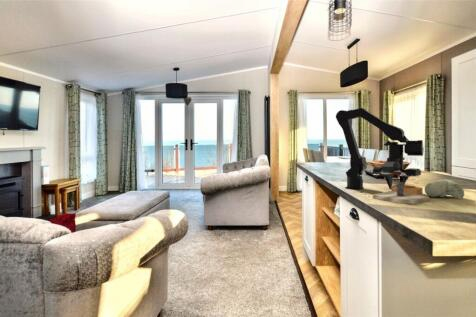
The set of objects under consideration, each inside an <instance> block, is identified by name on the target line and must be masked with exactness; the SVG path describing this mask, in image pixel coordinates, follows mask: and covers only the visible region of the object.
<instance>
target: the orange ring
mask: <svg viewBox="0 0 476 317" xmlns="http://www.w3.org/2000/svg"><path fill="white" fill-rule="evenodd" d="M423 189H424V188H423V186H419V185H412V184H405V187H404V193H408V194H415V195H422V196H423V192H424V191H423ZM390 191H393V192H397V187H396V184H392V186H391V189H390Z"/></svg>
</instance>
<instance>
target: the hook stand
mask: <svg viewBox="0 0 476 317" xmlns="http://www.w3.org/2000/svg"><path fill="white" fill-rule="evenodd" d="M395 185H396V187H397V192H393V191H391V190H389V191H385V192H379V193H375V194H373V195H372V197H373V198H372V199H375V200H380V201H386V202H392V203H393V202H394V203H399V204H405V205H410V204H411V206H415V205H417V204H421V203H423V202H427V201H429V197H430V196H428V195H423V194H422V195H415V194H408V193H404V187H405V185H406V184H404V183H403V182H400V181H398V182H397V183H396V184H395Z"/></svg>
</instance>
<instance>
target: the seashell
mask: <svg viewBox="0 0 476 317" xmlns="http://www.w3.org/2000/svg"><path fill="white" fill-rule="evenodd" d="M424 192H425V194H426V196H429V197H431V198H435V197H441V198H444V197H446V196H450V197H452V198H455V199H457V200H462V199H464V197H465V190H464V188H463V187H462V185H461V184H459V183H458V182H457V181H454V180H452V179H438V180H437V179H436V180H433V181H430V182H428V183H427V184H426V185H425V187H424Z"/></svg>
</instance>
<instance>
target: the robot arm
mask: <svg viewBox="0 0 476 317" xmlns="http://www.w3.org/2000/svg"><path fill="white" fill-rule="evenodd" d="M358 118H361V119H364V120H365V121H366V122H368V123H369V124H371V125H372V126H374V127H376V129H379V130H380V131H381V132H382V133H384V135H385V136H386V137H387V138H388V139H389V140H387V141H386V142H385V143H384V144H383V146H388V157H387V158H386V162H384V163H383V164H382V165H379V166H374V167H373V168H372V173H373V174H380V176H382V177H383V178H384V179H385V180H386V184H387V186H388V189H389V190H391V186H393V176H394V175H393V174H401V175H398V177H399V182H403V183H404V184H405V183H406V182H407V181H408V179H409V178H410V177H419V176H421V175H422V170H421V169H420V168H414V167H413V168H412V167H411V168H406V169H405V166H404V160H405V157H404V154H405V155H407V156H409V157H410V156H411V157H412V156H413V157H416V156H417V157H423V156H424V152H425V151H424V148H425V147H424V140H422V139H420V140H419V139H418V140H409V138H408V137H407V136H406V135H405V131H404V130H403V129H402V128H400V127H398V126H395V125H393V124H391V123H388V122H386V121H384V120H383V119H381V118H379V117H378V116H376V115H374V114H373V113H371V112H370V111H368V110H367V109H366V108H363V107H358V108H356V109H347V110H344V109H341V110H339V111H337V112H336V114H335V119H336V122H337V123H338V125H339V127H340V128H341V129H342V132H343V135H344V139H345V142H346V145H347V149H348V152H349V156H350V160H349V164H350V165H349V166H350V168H349V169H348V170H346V172H345V175H346V183H347V184H346V186H345V187H344V189H350V190H361V189H364V188H365V187H364V179H363V176H362V175H363V173H364V172H365V171H366V170H367V169H368V163H367V158H366V156H362V155H361V153H360V150H359V146H358V143H357V140H356V137H355V133H354V130H353V120H354V119H358ZM399 143H400V144H399ZM405 185H406V184H405Z"/></svg>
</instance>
